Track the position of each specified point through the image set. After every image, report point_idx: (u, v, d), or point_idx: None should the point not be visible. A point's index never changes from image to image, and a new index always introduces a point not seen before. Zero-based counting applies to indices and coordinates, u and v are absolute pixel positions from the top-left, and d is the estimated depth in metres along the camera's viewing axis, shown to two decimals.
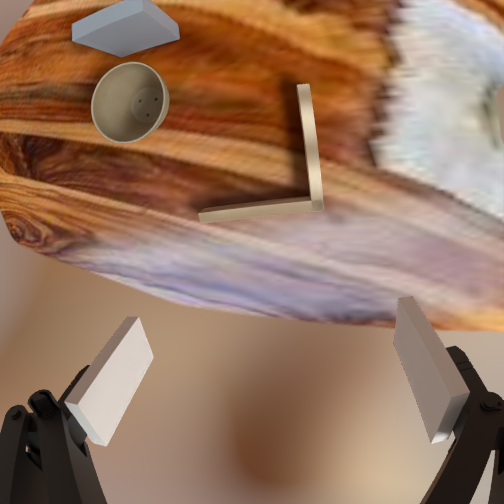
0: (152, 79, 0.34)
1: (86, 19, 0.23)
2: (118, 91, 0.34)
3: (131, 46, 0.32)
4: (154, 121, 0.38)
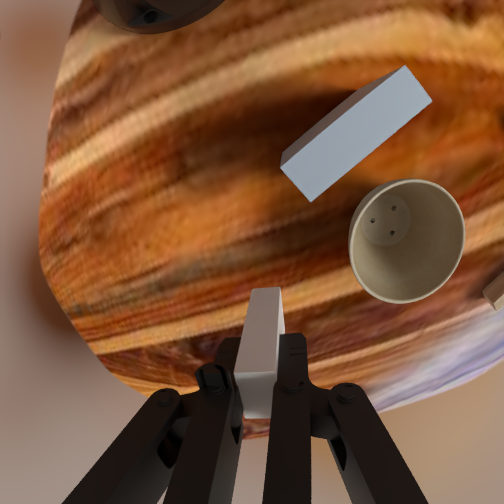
0: (391, 187, 0.24)
1: (315, 146, 0.15)
2: None
3: None
4: (407, 236, 0.27)
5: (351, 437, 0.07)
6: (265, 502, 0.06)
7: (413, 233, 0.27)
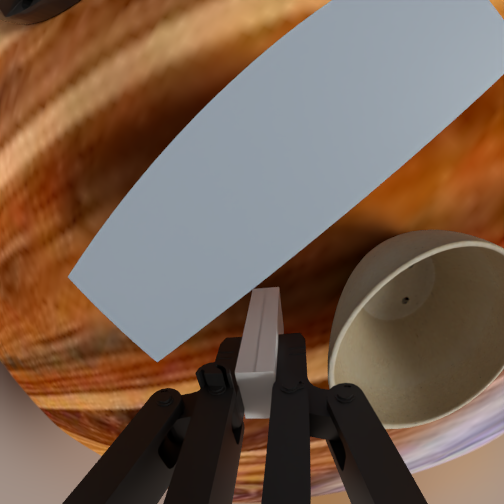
0: None
1: (137, 216, 0.05)
2: None
3: None
4: (428, 305, 0.17)
5: (350, 437, 0.07)
6: (264, 502, 0.06)
7: (438, 301, 0.16)
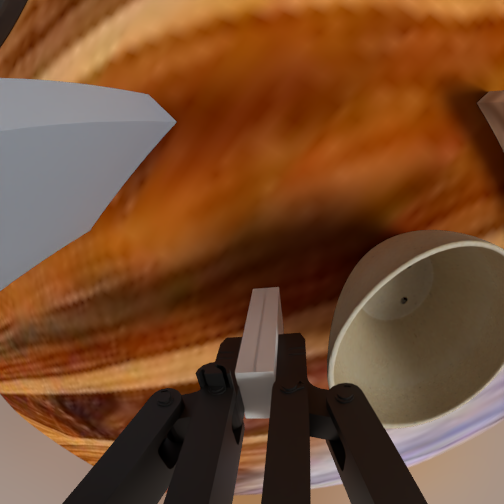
0: None
1: None
2: None
3: (88, 209, 0.15)
4: (426, 305, 0.17)
5: (350, 437, 0.07)
6: (264, 502, 0.06)
7: (436, 301, 0.16)
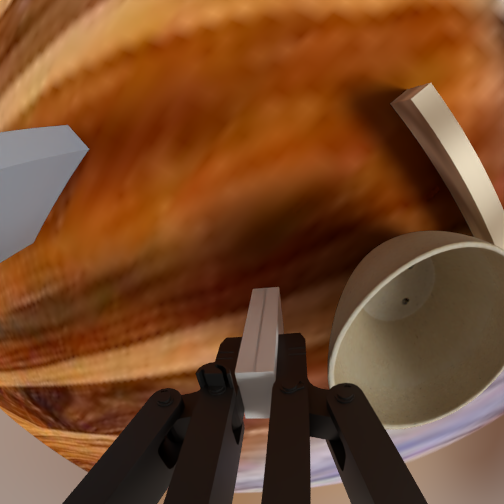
0: None
1: None
2: None
3: (21, 227, 0.15)
4: (428, 306, 0.17)
5: (350, 437, 0.07)
6: (264, 502, 0.06)
7: (438, 302, 0.16)
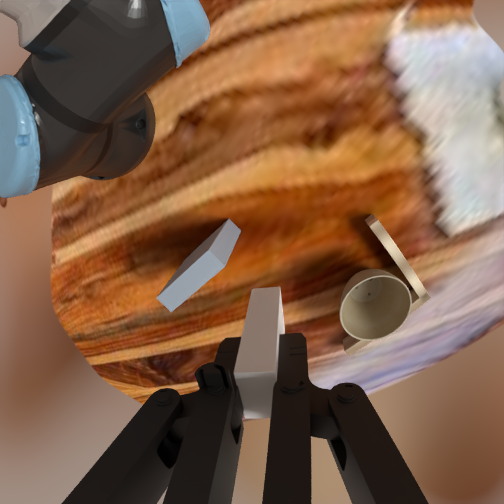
0: None
1: (169, 290, 0.34)
2: None
3: None
4: (379, 296, 0.44)
5: (351, 437, 0.07)
6: (265, 502, 0.06)
7: (383, 294, 0.44)
